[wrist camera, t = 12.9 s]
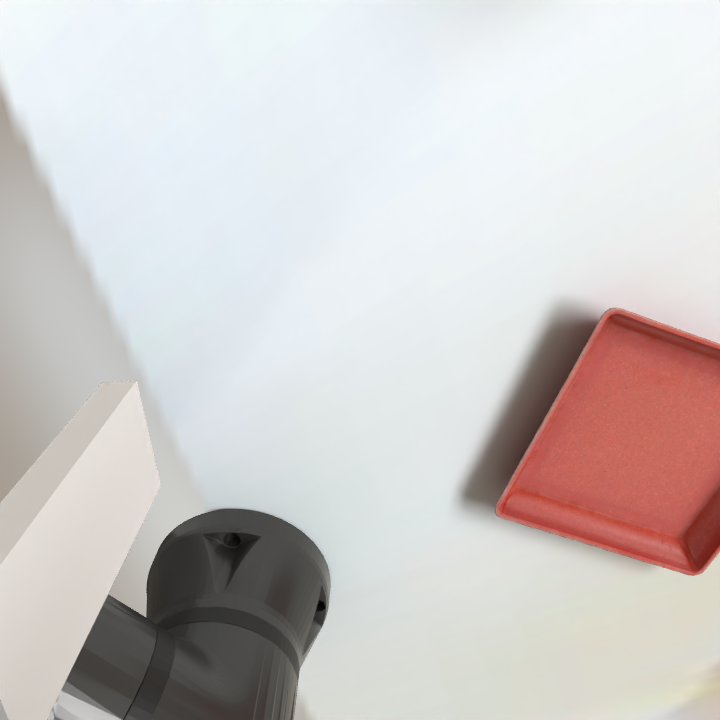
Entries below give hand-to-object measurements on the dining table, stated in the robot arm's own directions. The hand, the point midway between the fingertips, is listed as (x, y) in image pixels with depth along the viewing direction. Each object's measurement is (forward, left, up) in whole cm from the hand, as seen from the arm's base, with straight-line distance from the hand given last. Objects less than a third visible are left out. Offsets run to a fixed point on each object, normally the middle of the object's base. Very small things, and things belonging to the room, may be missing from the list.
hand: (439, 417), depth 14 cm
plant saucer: (+1, -27, -30) cm, 40 cm away
